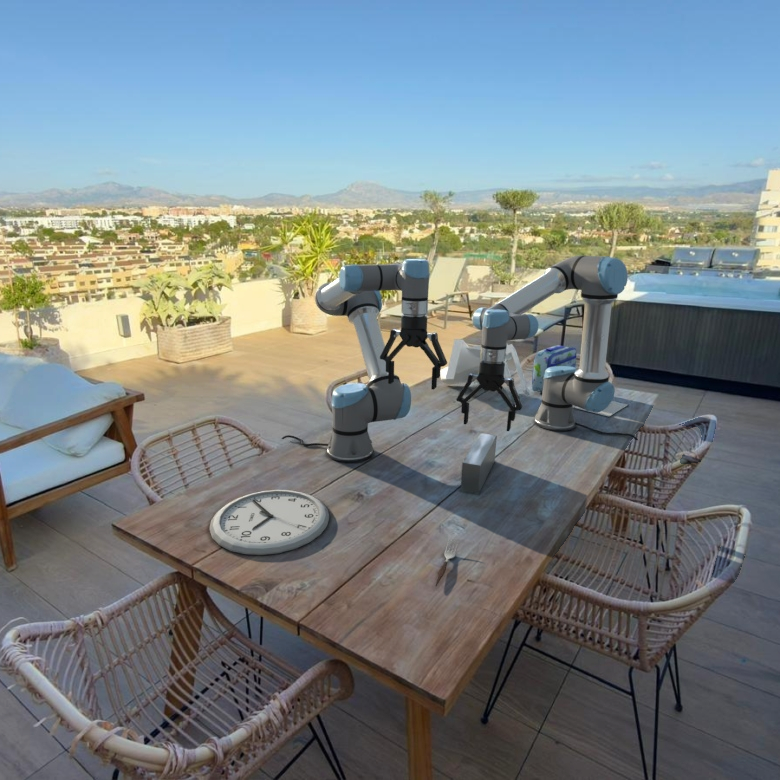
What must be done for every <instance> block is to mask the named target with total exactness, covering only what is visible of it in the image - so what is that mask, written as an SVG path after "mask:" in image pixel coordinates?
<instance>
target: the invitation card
mask: <svg viewBox="0 0 780 780" xmlns="http://www.w3.org/2000/svg"><path fill="white" fill-rule="evenodd" d="M628 406H629V404H627V403H623V402H618V401H614V400H612V401H611V403H610V404H609V405H608V407H607V408H606V409H604V410H603V411H601V412H592V411H587V410H585V409H582V408H580V407H577V406H574V407H573V409H575V410H581V411H584V412H587V413H593V414H596V415H600V416H604V417H608V418H609V417H611V416H613V415H614V414H616V413H617V412H619V411H621V410H623V409H624V408H626V407H628Z"/></svg>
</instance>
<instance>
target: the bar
mask: <svg viewBox="0 0 780 780" xmlns="http://www.w3.org/2000/svg"><path fill="white" fill-rule="evenodd" d="M497 437H498V436H497V435H494V434H488V433H482V432H480V434H479V435H478V437H477V439H476V440H475V441H474V443H473V445H472V446H471V448H470V449H469V451H468V453H467V455H466V456H465V457H464V459H463V461H462V462H461V463H462V464H461V476H460V477H461V480H460V492H464V493H469V494H475V495H479V494H480V492H481V490H482V488H483V486H484V484H485V482H486V480H487V477H488V475H489V473H490V472H491V470H492V467H493V465H494V463H495V461H496V460H495V459H496V452H497V451H496V450H497Z"/></svg>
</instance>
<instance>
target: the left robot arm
mask: <svg viewBox="0 0 780 780" xmlns="http://www.w3.org/2000/svg"><path fill="white" fill-rule="evenodd" d="M430 274H431V273H430V262H429V261H428V260H427V259H420V258H407V259H406V258H405V259H404V260H403V262H402V263H400V262H398V263H395V262H394V263H390V264H355V263H354V264H353V263H352V264H346V265H343V266H341V268H340V271H339V273H338V275H339V276H338V277H337V278H336V279H334V280H333V281H330V282H326V283H322V284H321V285H320V286H319V287H318V288H317V290H316V291H315V294H314V303H315V304H316V307H317V308H318V309H319V310H320V311H321V312H322V313H325V314H326V315H328V316H332V317H334V316H335V317H345V316H347V320H348V322H349V323H350V324H351V325H352V326H354V329H355V332H356V337H357V340H358V344H359V347H360V352H361V355H362V359H363V362H364V366H365V370H366V372H367V376H368V380H369V381H368V382H367V384H366V383H362V382H350V383H346V384H342V385H339V386H338V387H336V388H335V389H334V390H333V391H332V393H331V394H332V396H331V414H332V415H331V416H332V418H331V423H332V434H331V436H330V439H329V442H328V443H322V442H311V443H304V440H303V439H302V438H300V437H297V436H294V435H290V434H288V435H284V436H283V437H281V440H284V439H287V438H290V439H294V440H297V441H299V442H300V444H301V445H302V446H303V447H312V446H320V447H321V446H323V447H327V450H326V451H327V453H326V454H327V456H328V457H329V458H330V459H331V460H334V461H335V462H340V463H359V462H363V461H366V460H368V459H369V458H371V457H372V456H373V454H374V446H373V442H372V439H371V437H370V434H369V429H368V428H369V423H370V424H371V423H376V422H383V421H395V420H397V419H398V420H399V419H402V418H405V417H407V416H408V414H409V412H410V410H411V405H412V393H411V389H410V386H409V385H408V384H407V383H405V382H401V379H400V377H399V375H398V374H395V360H393V359H394V358H395V357H396V356H397V354H398V353H400V351H401V350H402V349H403V348H404V347H405V346H406V347H408V348H410V347H414V348H420V350H422V351H423V352H424V354H425V355H426V357H427V358H428V359H429V361H430V362H431V363H432V365H433V366H432V368H431V388H430V389H431V390H433V391H434V390H435V389H437V385H438V379H439V378H441V376H440V371H441V369H442V367H446V365H448V361H447V358H446V356H445V354H444V351H443V349H442V347H441V344H440V342H439V337H438V336H439V335H438V332H437V331H436V332H433V333H430V332H429V333H428V316H427V315H428V313H429V312H428V311H429V310H428V309H429V286H430ZM381 291H401V314H402V315H400V316H401V317H400V330H398V329H397V328H393V329H391V330H390V334H389V338H388V340H387V342H386V344H385V340H384V338H383V334H382V331H381V327H380V324H379V321H378V318H379V316H380V313H381V311H382V308H383V301H382V299H383V298H382V294H381ZM398 337H400V338H401V341H400V342H399V343H398V344H397V346H396V347H395V348H394V349H393V350H392V351H391V349H392V347H393V345H394V343H395V341H396V339H397V338H398ZM427 339H429V341H430V342H431V344H432V345H431V346H433V349H434V351H433V350H432V349H431V347H430V345H429V343H428V342H427ZM390 351H391V352H390ZM434 352H435V353H434Z"/></svg>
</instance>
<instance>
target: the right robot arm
mask: <svg viewBox="0 0 780 780" xmlns="http://www.w3.org/2000/svg"><path fill="white" fill-rule="evenodd" d="M628 275H629V274H628V269H627V267H626V264H624V261H623V260H621V259H619V258H618V257H611V256H601V255H599V256H598V255H584V254H582V255H581V254H580V255H574V256H571V257H568V258H565V259H563V260H561V261H559V262H557V263H555V264H552V266H550V267H548V268H547V269H545V271H544V273H543V275H541V276H539V277H538V278H536V279H534V280H533V281H531V282H530V283H528V284H526V285H524V286H522V287H521V288H520V289H518V290H517V291H515V292H513V293H512V294H509V296H507V297H505V298H504V299H502V300H500V301H499V302H497V303H496V304H494V305H492V306H491V307H486V306H485V307H478V308H477V309H476V310H475V311H474V312H473V315H472V324H473V326H474V328H476V329H477V330H478V331H479V330H480V331H481V344H480V345H481V354H480V359H481V361H480V366H479V375H474V374H473V373H471V374H470V375H469V376H468V380H467V383H464V385H463V388H462V389H461V391H460V392H459V394H458V395H457V397H456V399H455V401H456V402H459V403H460V404H461V410H460V412H461V414H463V425H465V426H466V425H467V424H468V422H469V413H470V402H469V401H470V400H471V399H472V398H473V397H474V396H475V395H476V394H478V393H479V392H480V391H481V390H483V391H485V392H497V394H498V395H500V397H501V398H502V400H503V401H504V402H505V404H506V406H507V407H508V408H509V409H508V412H507V423H506V432H510V430H511V429H512V428H511V427H512V422H514V421H515V419H516V413H517V411H521V410H522V409H523V404H522V401H521V398H520V396H519V394H518V391H517V389H516V386H515V378H514V377H511V379H506V377H505V373H504V368H505V363H504V361H505V357H506V347H507V344H508V341H509V342H510V341H516V340H526V339H531V338H533V337H535V336H536V335H537V333H538V332H539V321H538V319H537V317H536V316H535V315H533V314H531V313H526V312H528V311H529V310H531V309H533V308H534V307H536V306H537V305H539V304H540V303H542V302H544V301H545V300H546V299H549V298H550V297H552V296H553V295H555V294H561V293H563V292H565V291H567V290H568V291H569V290H579V291H580V298H581V299H582V300H583V302H584V311H583V322H582V331H581V333H582V334H581V342H580V343H581V345H580V356H579V367H578V368H577V367H576V366H575V367H570V366H555V367H549V368H547V369H546V370H545V375H544V378H543V379H544V380H543V391H542V393H541V402H540V405H539V407H538V410H537V411H536V413H535V416H534V424H535V425H536V426H537V427H539V428H542V429H544V430H549V431H556V432H567V431H572V430H574V429H575V428H576V426H578V427H581V428H583V429H587V430H589V431H592V432H595V433H597V434H598V433H599V434H602V435H607V436H608V435H609V436H611V435H612V436H614V435H615V436H616V435H617V436H626V437H627V436H628V437H632V439H634V440H635V441H639V439H638V438H637V437H636V436H635V435H634V434H631V433H625V432H608V431H602V430H598V429H595V428H592V427H589V426H586V425H584V424H582V423H579V422H576V418H575V417H576V416H575V413H574V407H576V406H577V407H580V408H582V409H585V410H587V411H586V412H588V411H592V412H601V411H603V410H604V409H606V408H607V407H608V405H609V404H610V403H611V401H613V399H614V396H615V392H616V389H615V386H614V384H613V383H611V381H609V378H610V374H609V373H608V371H606V362H607V353H608V343H609V334H610V326H611V315H612V306H613V303H614V302H615V301H616V300H618V298H619V297H618V295H619V294H622V292H623V291H624V290H625V287H626V286H627V284H628V277H629V276H628ZM475 379H477V381H478V382H477V383H478V385H477V386H476V387H475V388H474V389H473V390H472V391H471V392H470V393H469V394H468V395H467V396H465V394H466V393H467V391H468V389H469V388H470V386H471V385H472V384H473V383H474V382H473V381H475ZM504 384H506V387H508V386H509V387H508V390H509V389H510V390H509V393H510V394H511V397H512V399H513V400H512V399H511V397H510V395H508V393H507V391H506V390H505V388H504V386H503V385H504ZM464 396H465V397H464ZM573 406H574V407H573ZM592 412H591V413H592Z"/></svg>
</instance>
